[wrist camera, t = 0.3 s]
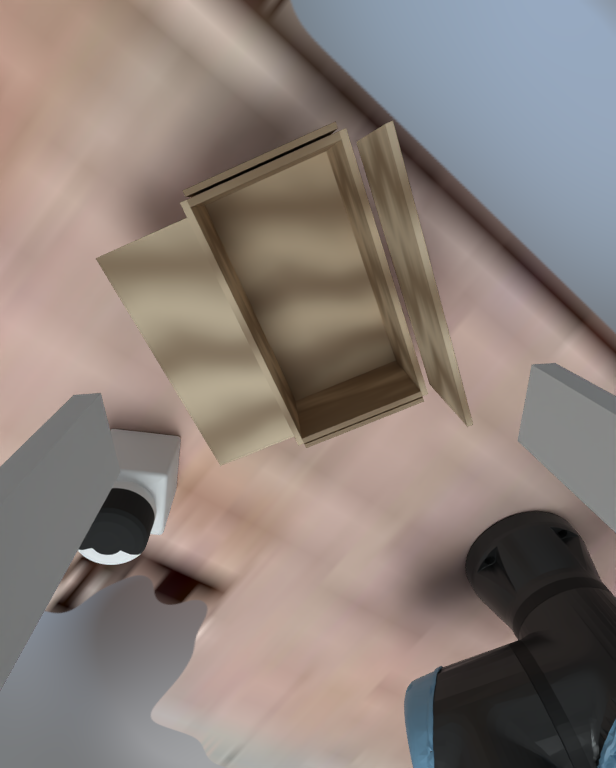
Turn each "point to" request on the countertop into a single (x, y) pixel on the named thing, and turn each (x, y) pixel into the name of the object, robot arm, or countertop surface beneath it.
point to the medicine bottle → (135, 497)
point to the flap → (412, 263)
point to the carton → (274, 302)
